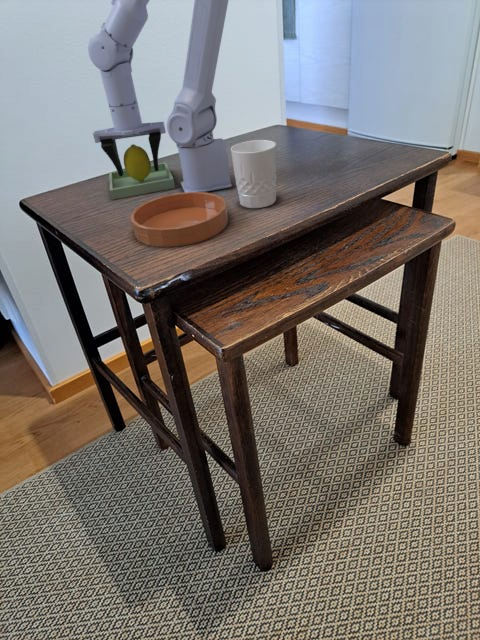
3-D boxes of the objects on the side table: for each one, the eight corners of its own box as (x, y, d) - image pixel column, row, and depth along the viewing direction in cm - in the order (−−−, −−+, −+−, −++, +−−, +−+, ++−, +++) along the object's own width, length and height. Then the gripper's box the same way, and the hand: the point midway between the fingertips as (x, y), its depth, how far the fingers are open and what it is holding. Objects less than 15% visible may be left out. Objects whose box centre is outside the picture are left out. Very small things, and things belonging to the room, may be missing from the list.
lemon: (150, 176, 101) (141, 139, 97) (157, 182, 97) (149, 144, 92) (126, 182, 100) (116, 144, 95) (132, 188, 95) (122, 149, 91)
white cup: (243, 213, 79) (237, 155, 73) (232, 199, 86) (225, 144, 80) (285, 204, 80) (282, 147, 75) (271, 191, 87) (267, 137, 81)
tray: (168, 170, 105) (166, 162, 104) (175, 188, 94) (173, 178, 93) (111, 181, 103) (109, 172, 102) (112, 199, 92) (109, 190, 91)
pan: (217, 201, 85) (215, 186, 84) (237, 234, 72) (235, 217, 71) (132, 217, 83) (128, 202, 81) (137, 254, 70) (133, 237, 68)
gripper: (83, 112, 86) (103, 182, 93) (159, 102, 86) (172, 172, 94) (89, 106, 91) (107, 172, 99) (159, 96, 92) (172, 163, 100)
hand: (139, 172), depth 97 cm, fingers open, 7 cm apart
